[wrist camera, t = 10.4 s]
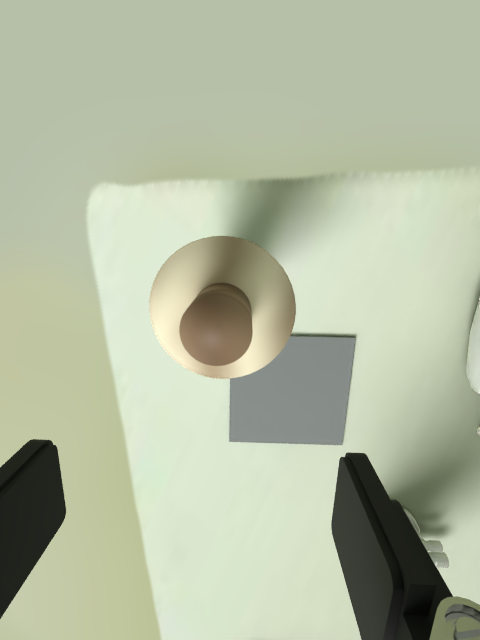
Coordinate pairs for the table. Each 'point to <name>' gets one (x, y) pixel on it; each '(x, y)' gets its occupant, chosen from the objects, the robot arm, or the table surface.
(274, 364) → the mat
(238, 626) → the table surface
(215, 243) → the lid
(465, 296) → the table surface
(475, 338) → the lung model
